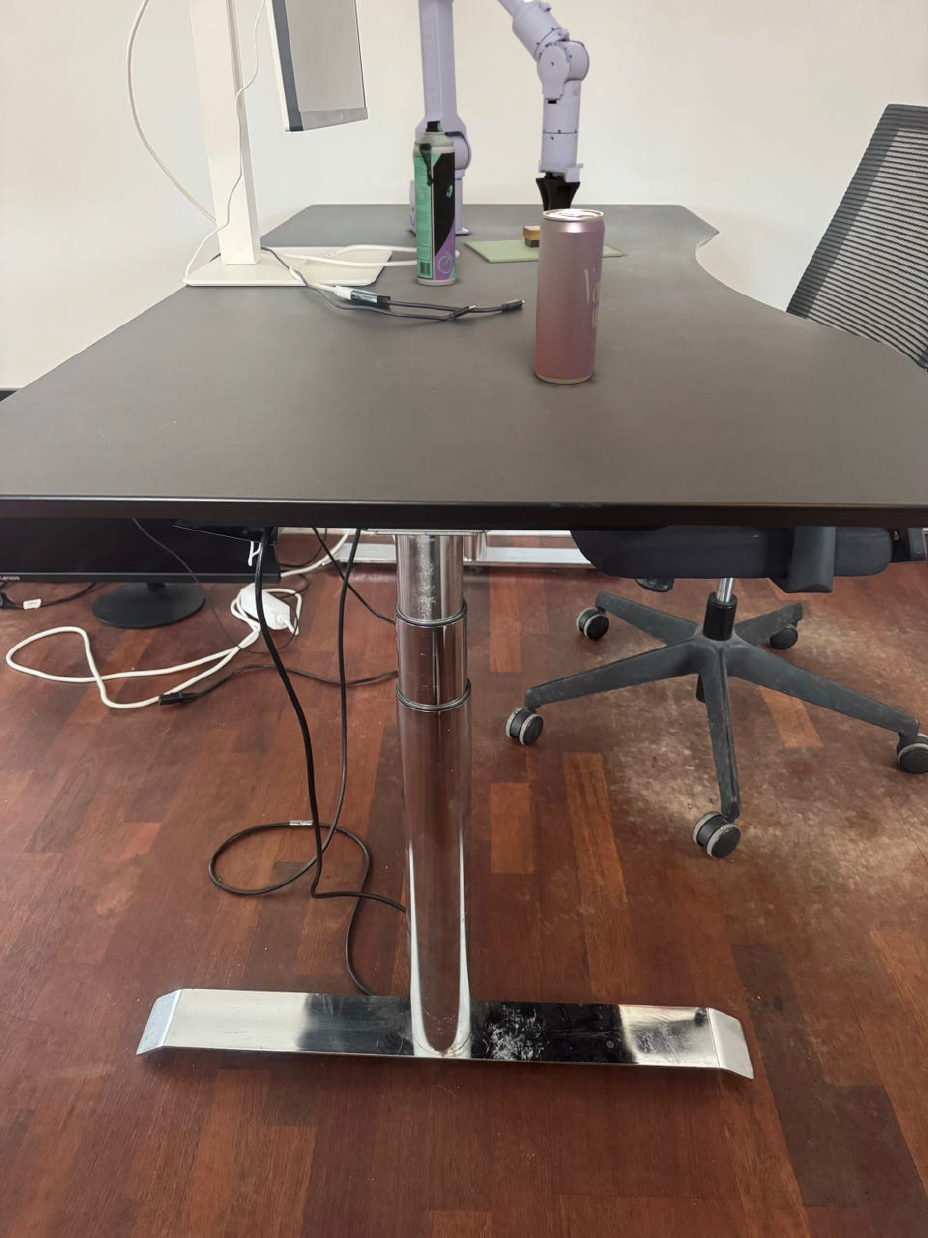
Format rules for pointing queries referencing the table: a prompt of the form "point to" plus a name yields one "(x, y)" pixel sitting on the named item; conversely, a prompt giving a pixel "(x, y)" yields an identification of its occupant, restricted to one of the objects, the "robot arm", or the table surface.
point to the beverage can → (568, 294)
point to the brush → (532, 235)
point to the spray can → (435, 206)
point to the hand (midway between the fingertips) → (555, 225)
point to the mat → (515, 251)
